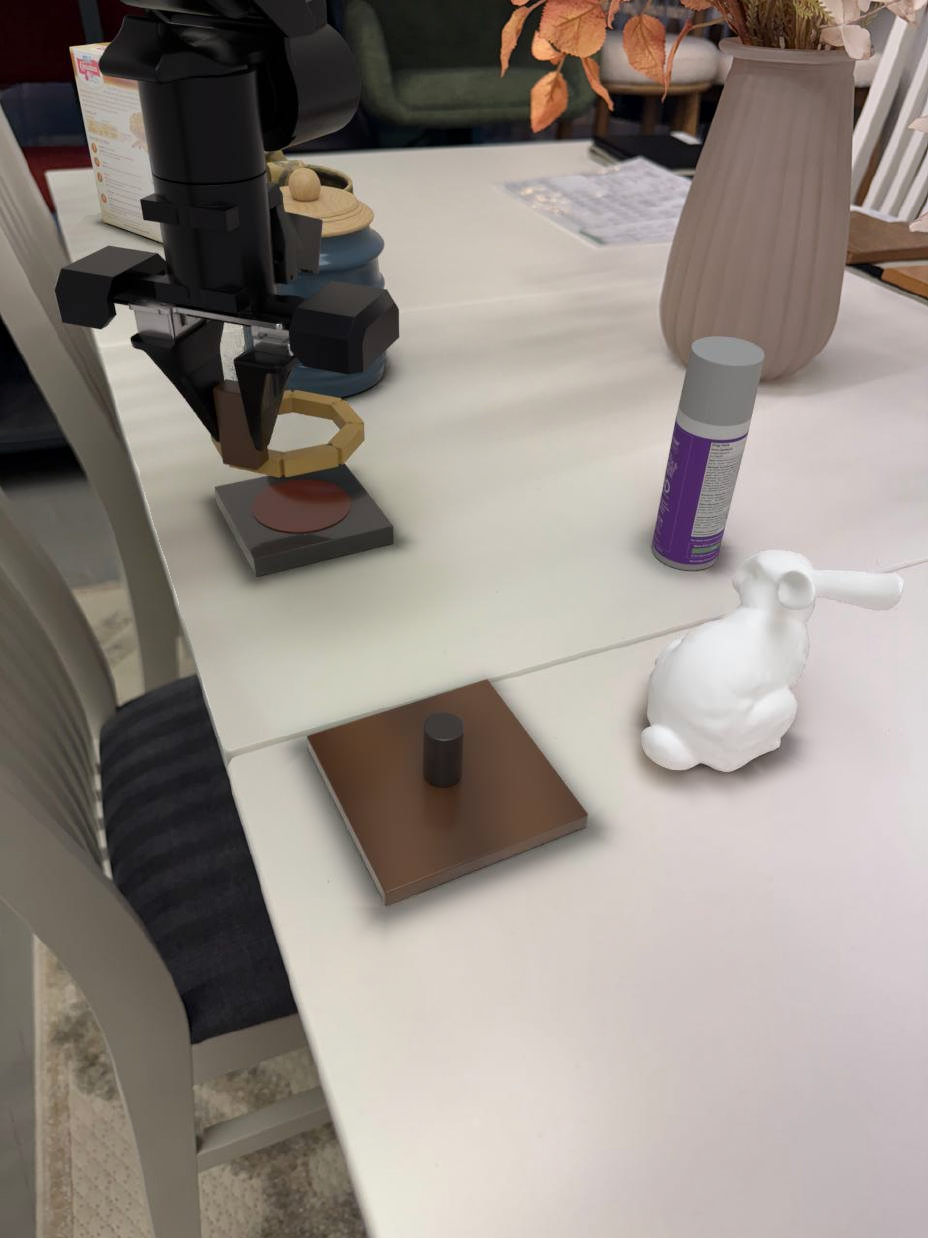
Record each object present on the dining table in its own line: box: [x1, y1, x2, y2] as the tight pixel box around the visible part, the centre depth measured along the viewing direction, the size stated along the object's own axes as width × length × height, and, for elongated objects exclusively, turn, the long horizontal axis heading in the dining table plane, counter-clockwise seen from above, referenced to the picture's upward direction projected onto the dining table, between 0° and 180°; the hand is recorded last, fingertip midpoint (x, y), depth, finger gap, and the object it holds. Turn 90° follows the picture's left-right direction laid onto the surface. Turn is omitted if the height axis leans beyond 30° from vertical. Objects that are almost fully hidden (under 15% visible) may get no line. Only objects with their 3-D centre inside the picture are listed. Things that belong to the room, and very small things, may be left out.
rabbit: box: [640, 549, 905, 773], centre depth 49 cm, size 12×9×12 cm
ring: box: [210, 378, 366, 478], centre depth 61 cm, size 10×11×6 cm
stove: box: [213, 462, 395, 578], centre depth 68 cm, size 10×10×2 cm
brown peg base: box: [306, 678, 589, 906], centre depth 48 cm, size 11×11×4 cm
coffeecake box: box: [69, 41, 163, 244], centre depth 113 cm, size 15×7×20 cm, turn 51°
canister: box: [242, 168, 387, 398], centre depth 83 cm, size 13×13×18 cm
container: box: [651, 335, 766, 571], centre depth 63 cm, size 5×5×15 cm
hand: (243, 443), depth 58 cm, fingers closed on ring, 2 cm apart
